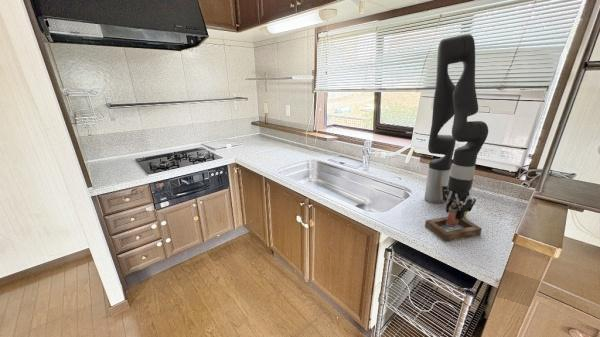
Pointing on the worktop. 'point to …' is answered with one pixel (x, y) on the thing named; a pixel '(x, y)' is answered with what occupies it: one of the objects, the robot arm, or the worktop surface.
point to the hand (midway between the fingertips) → (453, 215)
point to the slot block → (446, 236)
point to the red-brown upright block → (452, 215)
